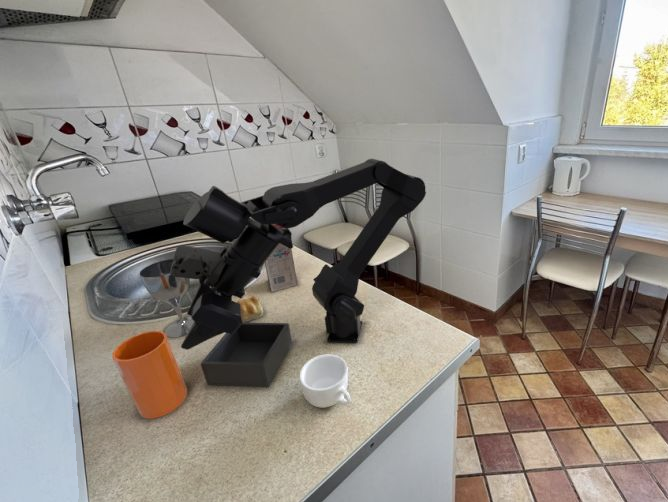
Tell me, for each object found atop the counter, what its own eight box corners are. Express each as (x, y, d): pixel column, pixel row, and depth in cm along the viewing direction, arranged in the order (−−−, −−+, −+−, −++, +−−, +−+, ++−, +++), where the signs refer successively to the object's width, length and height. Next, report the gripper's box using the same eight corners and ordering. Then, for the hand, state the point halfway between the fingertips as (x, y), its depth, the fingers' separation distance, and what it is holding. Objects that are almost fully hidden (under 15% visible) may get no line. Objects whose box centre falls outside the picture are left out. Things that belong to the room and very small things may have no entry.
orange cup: (196, 385, 57) (176, 331, 52) (169, 419, 51) (143, 361, 46) (160, 384, 57) (137, 330, 53) (128, 418, 51) (99, 360, 47)
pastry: (222, 333, 70) (218, 318, 68) (216, 318, 75) (211, 304, 73) (266, 315, 75) (263, 302, 74) (257, 303, 80) (254, 290, 79)
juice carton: (272, 291, 85) (255, 212, 76) (268, 280, 90) (252, 205, 81) (297, 284, 88) (284, 208, 79) (292, 274, 93) (279, 201, 84)
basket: (292, 342, 67) (288, 323, 65) (269, 387, 56) (263, 365, 55) (240, 341, 67) (234, 322, 65) (207, 385, 57) (200, 363, 55)
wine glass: (183, 313, 77) (164, 257, 71) (212, 317, 75) (194, 260, 69) (153, 336, 69) (129, 275, 64) (184, 340, 68) (162, 279, 62)
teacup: (294, 397, 54) (289, 373, 52) (330, 370, 60) (327, 347, 58) (332, 433, 48) (328, 407, 46) (368, 398, 54) (366, 374, 52)
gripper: (201, 211, 55) (144, 282, 55) (192, 252, 40) (113, 351, 40) (259, 243, 62) (208, 307, 61) (270, 290, 46) (202, 375, 46)
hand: (187, 330), depth 52 cm, fingers open, 9 cm apart
